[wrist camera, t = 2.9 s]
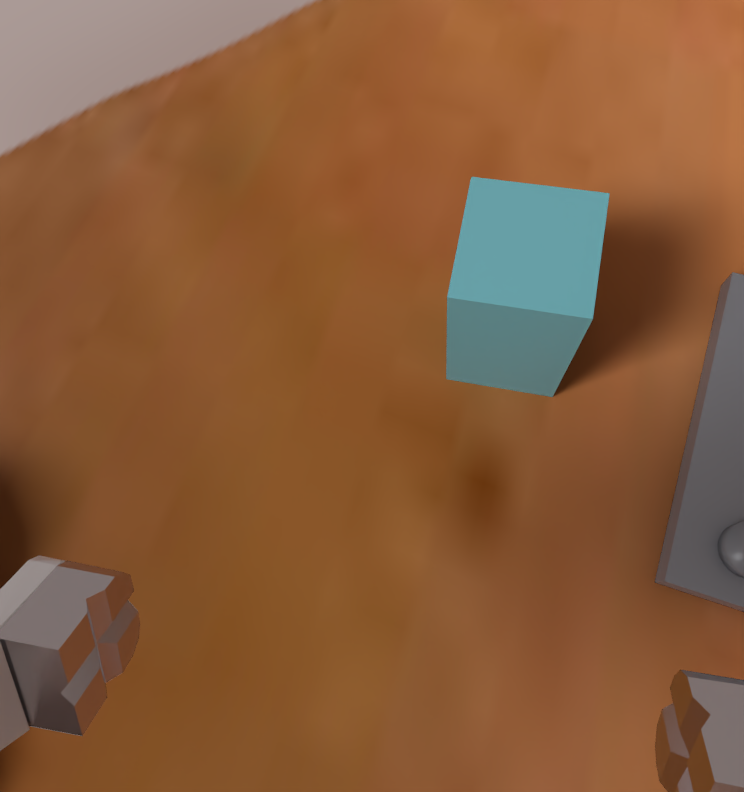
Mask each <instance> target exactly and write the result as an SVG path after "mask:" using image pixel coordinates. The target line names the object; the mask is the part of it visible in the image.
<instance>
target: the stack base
mask: <svg viewBox="0 0 744 792" xmlns="http://www.w3.org/2000/svg"><path fill="white" fill-rule="evenodd" d="M655 583H658V584H661V585H664V586H667V587H670V588H673V589H676V590H679V591H682V592H685V593H688V594H691V595H694V596H697V597H700V598H703V599H706V600H709V601H712V602H716V603H719V604H722V605H725V606H728V607H731V608H734V609H737V610H740V611H743V612H744V275H742V274H737V273H732V274H731V275H730V276H729V277H728V278H727V279H726V281H725V282H724V283H723V284H722V285H721V289H720V293H719V298H718V302H717V306H716V311H715V315H714V320H713V324H712V329H711V333H710V338H709V342H708V347H707V351H706V356H705V360H704V365H703V369H702V373H701V378H700V382H699V387H698V391H697V396H696V400H695V405H694V409H693V414H692V418H691V423H690V427H689V432H688V436H687V440H686V445H685V449H684V454H683V458H682V463H681V467H680V472H679V476H678V481H677V485H676V490H675V494H674V499H673V503H672V507H671V512H670V516H669V521H668V525H667V530H666V534H665V539H664V543H663V548H662V552H661V557H660V561H659V566H658V570H657V574H656V579H655Z"/></svg>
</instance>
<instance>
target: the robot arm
mask: <svg viewBox="0 0 744 792" xmlns="http://www.w3.org/2000/svg"><path fill="white" fill-rule="evenodd" d="M133 592H134V588H133V584H132V580H131V575H129V574H127V573H124V572H120V571H115V570H110V569H105V568H101V567H96V566H91V565H86V564H81V563H76V562H71V561H64V560H59V559H54V558H49V557H44V556H37V557H34V558H32V559H30V560H28V561H27V562H26V563H25V564H24V565H23V566H22V567H21V568H20V569H19V570H18V571H17V572H16V573H15V574H14V575H13V576H12V578H11V579H10V580H9V581H8V582H7V583H6V584H5V585H4V586H3V587H2V588H1V589H0V751H1V750H2V749H3V748H5V747H6V746H8V745H9V744H10V743H12V742H13V741H14V740H16V739H17V738H19V737H20V736H21V735H23V734H24V733H26V732H27V731H28V730H29V729H30V728H29V726H32V727H37V728H43V729H48V730H53V731H58V732H64V733H69V734H74V735H80V736H83V734H84V733H85V731H86V730H87V728H88V727H89V725H90V723H91V722H92V720H93V719H94V717H95V716H96V714H97V713H98V711H99V709H100V708H101V706H102V705H103V703H104V702H105V700H106V699H107V689H106V682H108V681H110V680H111V679H113V678H115V677H116V676H118V675H120V674H121V673H123V672H124V670H125V668H126V667H127V665H128V663H129V662H130V660H131V658H132V657H133V654H134V651H135V648H136V645H137V642H138V639H139V632H140V619H139V613H138V611H137V610H136V609H135V608H134V606H133V605H132V604H131V603H130V602H129V601H128V599H129V597H130V596H131V595H132V593H133ZM670 690H671V695H672V699H673V704H671V705H669V706H667V707H665V708H664V709H662V711H661V715H660V718H659V721H658V724H657V731H656V742H655V751H656V764H657V770H658V776H659V781H660V783H661V784H662V785H663V786H664V788H665V789H666V790H667V791H668V792H744V680H740V679H734V678H727V677H721V676H715V675H709V674H703V673H697V672H691V671H685V670H680V671H679V672H678V673H677V674H676V675H675V676H674V679H673V681H672V684H671V686H670Z"/></svg>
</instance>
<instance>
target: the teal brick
mask: <svg viewBox="0 0 744 792" xmlns="http://www.w3.org/2000/svg"><path fill="white" fill-rule="evenodd" d="M608 201H609V193H602V192H594V191H586V190H577V189H569V188H561V187H552V186H544V185H535V184H527V183H519V182H510V181H502V180H494V179H485V178H477V177H471V181H470V186H469V191H468V196H467V201H466V206H465V211H464V216H463V221H462V226H461V231H460V236H459V241H458V246H457V251H456V256H455V261H454V266H453V271H452V276H451V281H450V286H449V291H448V296H447V369H446V379H449V380H455V381H461V382H467V383H473V384H479V385H484V386H490V387H496V388H502V389H508V390H514V391H520V392H526V393H532V394H538V395H544V396H549V397H553V395H554V393H555V391H556V389H557V387H558V385H559V383H560V382H561V380H562V378H563V376H564V374H565V372H566V370H567V368H568V366H569V364H570V362H571V360H572V358H573V357H574V355H575V353H576V351H577V349H578V347H579V345H580V343H581V341H582V339H583V337H584V335H585V333H586V331H587V330H588V328H589V326H590V324H591V322H592V320H593V315H594V307H595V300H596V292H597V284H598V277H599V269H600V262H601V254H602V246H603V239H604V231H605V224H606V216H607V208H608Z"/></svg>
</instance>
